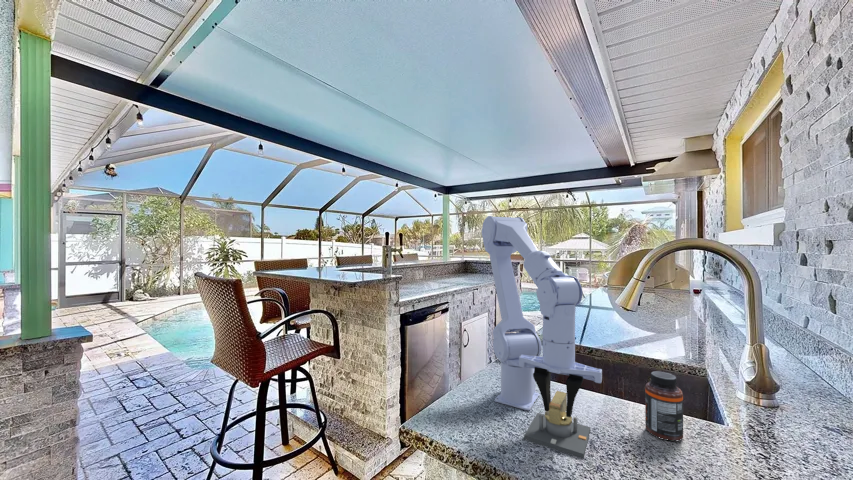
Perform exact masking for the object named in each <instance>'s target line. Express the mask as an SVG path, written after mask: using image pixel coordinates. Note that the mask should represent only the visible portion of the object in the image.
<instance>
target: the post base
mask: <svg viewBox="0 0 853 480" xmlns="http://www.w3.org/2000/svg"><path fill="white" fill-rule="evenodd" d="M589 434H590V435H591V426H588V425H584V424H580V423H578V417H577V416H573V417H572V423H571V424H570V425H566V426H561V425H556V424H553V423H550V422H549V421H547V420H546V418H545V413H540V412H537V413H536V415H535V417H534V419H532V421H531V423H530V424H529V427H528V428H527V430H526V431H525V433H524V436H523V440H524V441H527V442H530V443H534V444H536V445H540V446H543V447H546V448H549V449H552V450H555V451H559V452H562V453H564V454H568V455H570V456H574V457H577V458H580V459H583V460H584V459H585V457H586V456H585V455H586V452H585V451H587V448H586V447H588V443H589V439H590V435H589Z"/></svg>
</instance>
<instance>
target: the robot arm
mask: <svg viewBox="0 0 853 480" xmlns="http://www.w3.org/2000/svg"><path fill="white" fill-rule="evenodd" d="M481 237H482V241H483V246H484V251H485V252H486V253H488V254H489V260H490V265H491V269H492V270H491V271H492V276H493V282H494V287H495V292H496V296H497V303H498V306H499V307H498V308H499V312H500V318H501V321H500V322H498V323H497V325H496V326H495V327H494V328H493V330H492V337H493V338H492V339H493V341H492V347H493V353H494V355H495V357H496V358H497V360H498V361H500V392H499V394H498V395H496V397H495V398H494V402H495V403H499V404H503V405H505V406H510V407H514V408H518V409H520V410H524V411H530V410H531V409H532V408H533V406H534V405H535V403H536V401H537V400H538V398H539V397H540V396H541V399H542V403H543V407H544V411H545V412H546V411H549V404H550V402H551V401H552V395H551V384H552V382H551V381H552V373H553V374H558V375H563V376H564V375H565V376H568V377H567V379H566V380H565V384H566V385H565V388H566V393H567V407H566V416H567V417H572V415H573V409H574V403H575V399H576V397H577V395H578V392H579V390H580V389H581V386H582V385H583V382H584V379H585V380H589V381H593V382H594V383H596V384H602V381H603V369H602V368H597V367H593V366H589V365H585V364H583V363H579V362H577V361H576V306H578V305H579V304H580V303H581V302H582V299H583V288H582V284H581V283H580V281H579V279H578V278H577V277H576V276H574V275H569V274H568V273H566V272H565V273H564V272H563V271H562V269H561V268H560V266H559V265H558V264H557V263H556V262H555V261H554V259H553V258H552V256H551V254H550V253H549V251H544V250H539V249H538V248H537V246H536V245H535V243H534V241H533V240H532V238H531V236H530V235H529V233H528V223H527V222H526V221H525V220H524V218H523V217H519V216H518V217H517V216H516V217H509V216H505V217H504V216H492V215H488V216H486V217H485V219H484V220H483V222H482V227H481ZM516 252H518V253H519V255H520V256H521V257H522V258H523V260H524V261H523V268H524V269H525V271H526V272H527V275H528V276H529V277H530V279H532V281H533V283H534V285H535V286H536V287H537V289H536V290H535V291H536V299H537V301H538V302H539V303H538V304H539V311H540V314H541V315H542V341H541V339H540V337H539V335H538V333H537V331H536V327H535V325H534V324H533V323H532V322H531V321H529V320H527V319H526V318H525V317H524V315H523V309H522V305H521V301H520V296H519V291H518V287H517V282H516V276H515V274H514V268H513V263H512V259H511V256H512V254H514V253H516ZM541 354H542V356H541ZM536 385H537V388H538V390H539V392H540V393H539V392H536ZM538 396H539V397H538ZM536 399H537V400H536ZM534 402H535V403H534Z"/></svg>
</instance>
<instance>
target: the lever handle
mask: <svg viewBox="0 0 853 480" xmlns="http://www.w3.org/2000/svg"><path fill="white" fill-rule="evenodd" d="M566 407H567V392H563V391H559V390H556V391H555V394H554V395H553V397H552V398H551V402H550V404H549V411H545V412H544V415H545V418H546V420H547V421H549V422H550V423H553V424H556V425H561V426H566V425H570V424H571V423H572V422H573V417H572V416H571V417H567V416H566Z"/></svg>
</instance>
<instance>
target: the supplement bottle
mask: <svg viewBox="0 0 853 480" xmlns="http://www.w3.org/2000/svg"><path fill="white" fill-rule="evenodd" d="M650 379H651V380H650V381H648V382H647V383H645V387H644V390H645V391H644V392H645V393H644V394H645V395H644V396H645V397H644V398H645V399H644V401H645V402H644V403H645V404H644V405H645V406H644V407H645V410H644V411H645V413H644V416H645V419H644V421H645V429H646V430H647V432H648V431H649V432H650V434H651V433H652V434H653V436H654V435H655V436H654V437H656V436H657V437H656V438H658V437H660V438H663V439H662V440H664V439H668V440H679V441H681V440H682V439H683V438H684V394H683V391H682V390H681V388H679V387H678V386H677V376H676V375H674V374H671V373H669V372H664V371H659V370H656V371H652V372H651V373H650ZM649 432H648V433H649ZM652 434H651V435H652ZM660 438H659V439H660ZM680 439H681V440H680Z"/></svg>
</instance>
